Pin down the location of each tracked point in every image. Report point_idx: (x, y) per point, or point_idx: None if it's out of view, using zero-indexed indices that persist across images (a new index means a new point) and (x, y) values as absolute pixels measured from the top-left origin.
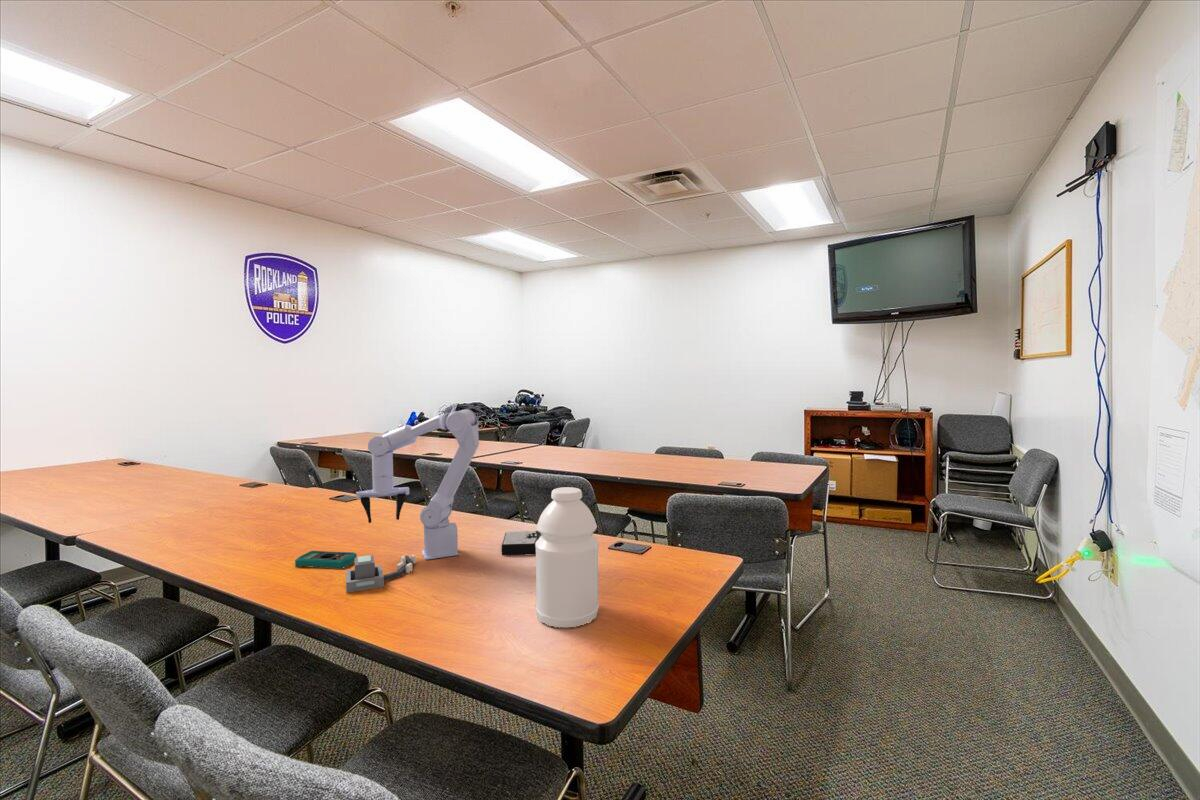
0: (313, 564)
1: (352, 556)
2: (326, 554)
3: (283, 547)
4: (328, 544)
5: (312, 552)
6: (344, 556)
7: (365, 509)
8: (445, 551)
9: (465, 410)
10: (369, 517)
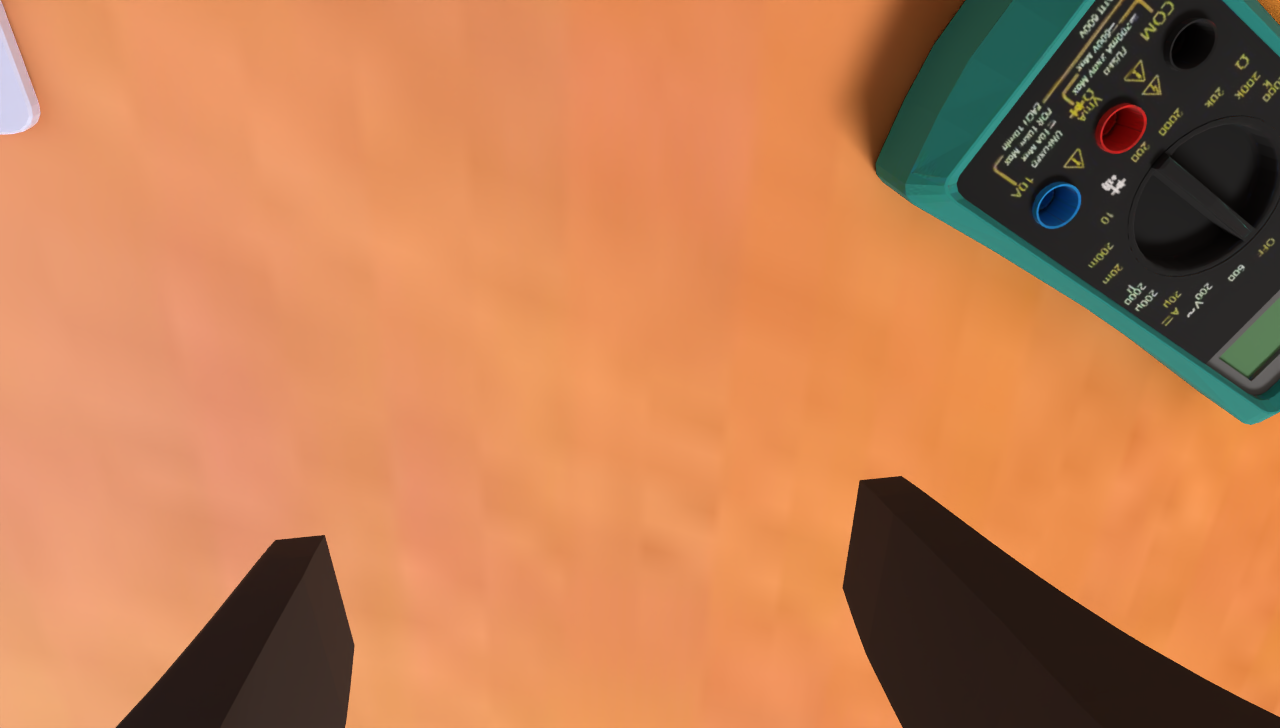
0: None
1: (974, 73)
2: (1194, 266)
3: (1274, 673)
4: None
5: (1262, 394)
6: (1062, 98)
7: (1222, 695)
8: None
9: None
10: (956, 544)
